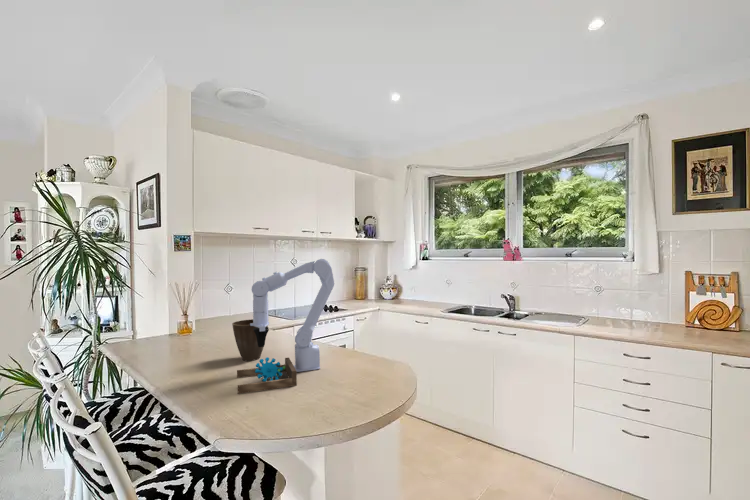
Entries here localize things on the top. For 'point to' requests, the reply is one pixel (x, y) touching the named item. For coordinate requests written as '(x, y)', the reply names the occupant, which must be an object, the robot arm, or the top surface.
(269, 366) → the gear
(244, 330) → the plant pot
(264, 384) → the wooden u-shaped frame
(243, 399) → the top surface
